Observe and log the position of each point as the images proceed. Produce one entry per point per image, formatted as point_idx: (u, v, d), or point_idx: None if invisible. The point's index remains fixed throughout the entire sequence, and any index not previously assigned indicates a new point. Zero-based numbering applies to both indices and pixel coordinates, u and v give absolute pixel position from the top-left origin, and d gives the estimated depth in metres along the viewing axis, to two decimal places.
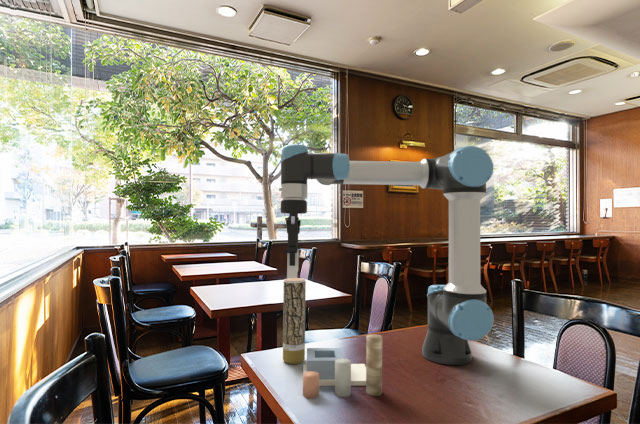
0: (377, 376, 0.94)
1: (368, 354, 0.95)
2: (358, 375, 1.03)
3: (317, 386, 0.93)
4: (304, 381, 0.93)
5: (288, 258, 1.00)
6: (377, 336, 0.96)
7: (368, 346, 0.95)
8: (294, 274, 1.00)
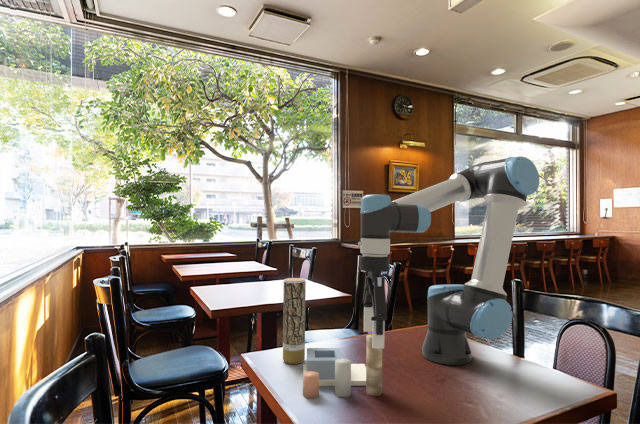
0: (377, 376, 0.94)
1: (368, 354, 0.95)
2: (358, 375, 1.03)
3: (317, 386, 0.93)
4: (304, 381, 0.93)
5: (374, 326, 0.89)
6: None
7: (368, 346, 0.95)
8: (381, 344, 0.89)
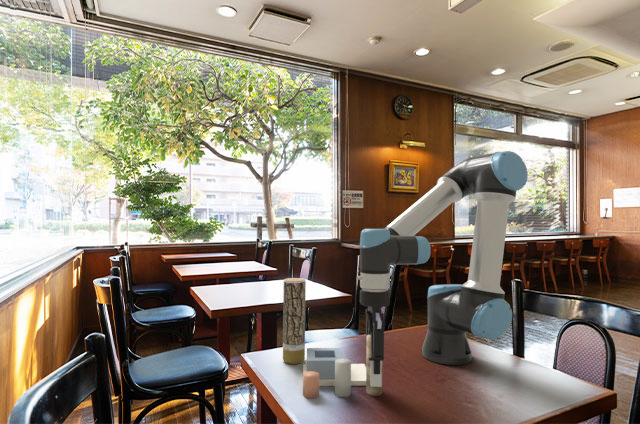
0: None
1: (368, 354, 0.95)
2: (358, 375, 1.03)
3: (317, 386, 0.93)
4: (304, 381, 0.93)
5: (372, 365, 0.93)
6: None
7: (368, 346, 0.95)
8: (378, 382, 0.93)
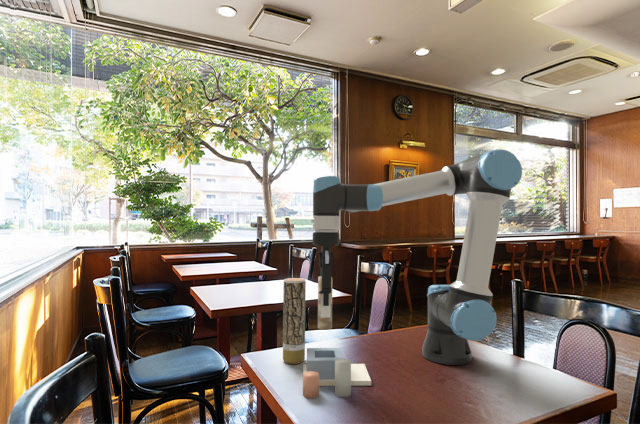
0: None
1: None
2: (358, 375, 1.03)
3: (317, 386, 0.93)
4: (304, 381, 0.93)
5: (322, 298, 1.03)
6: None
7: (319, 285, 1.05)
8: (327, 314, 1.03)
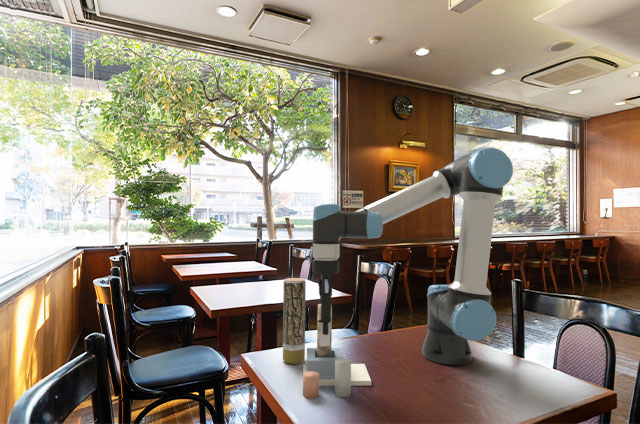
0: None
1: None
2: (358, 375, 1.03)
3: (317, 386, 0.93)
4: (304, 381, 0.93)
5: (321, 327, 1.03)
6: None
7: (318, 313, 1.05)
8: (327, 342, 1.03)
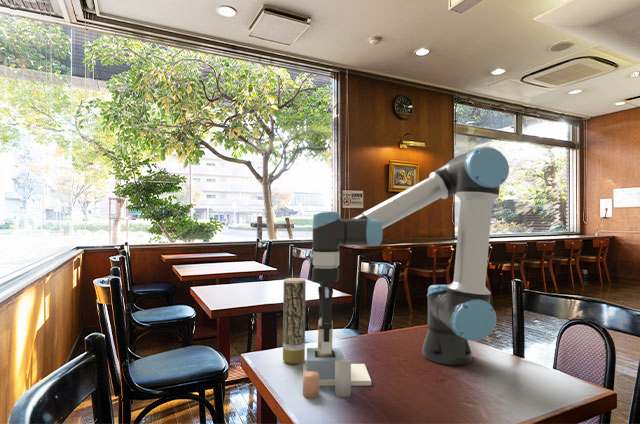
0: (327, 356, 1.04)
1: (319, 336, 1.05)
2: (358, 375, 1.03)
3: (317, 386, 0.93)
4: (304, 381, 0.93)
5: (322, 333, 1.00)
6: None
7: (319, 329, 1.05)
8: (328, 349, 1.00)
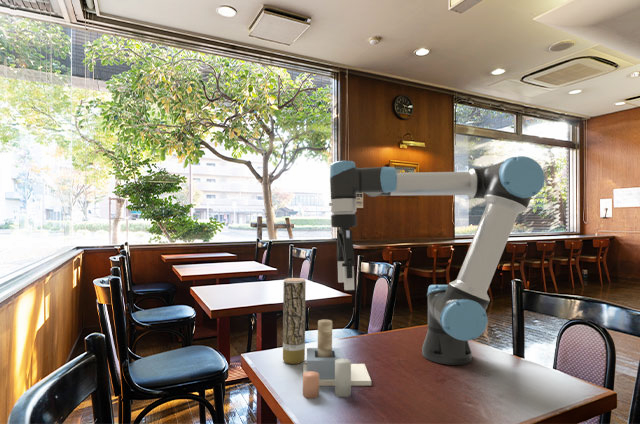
0: (327, 357, 1.04)
1: (319, 337, 1.04)
2: (358, 375, 1.03)
3: (317, 386, 0.93)
4: (304, 381, 0.93)
5: (345, 271, 1.04)
6: (327, 321, 1.06)
7: (319, 330, 1.05)
8: (351, 286, 1.04)
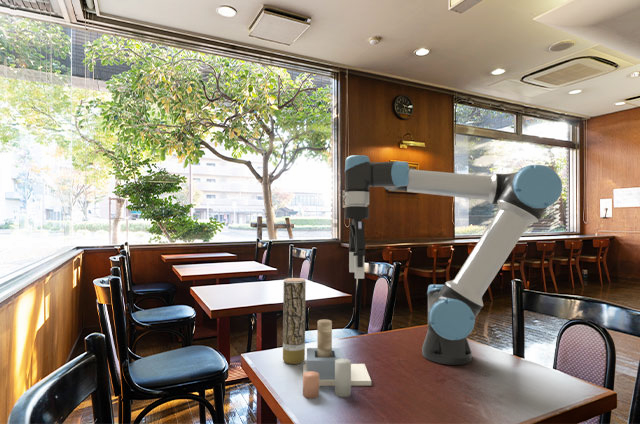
0: (327, 356, 1.04)
1: (318, 337, 1.04)
2: (358, 375, 1.03)
3: (317, 386, 0.93)
4: (304, 381, 0.93)
5: (356, 260, 1.09)
6: (327, 321, 1.06)
7: (318, 330, 1.05)
8: (361, 275, 1.09)
